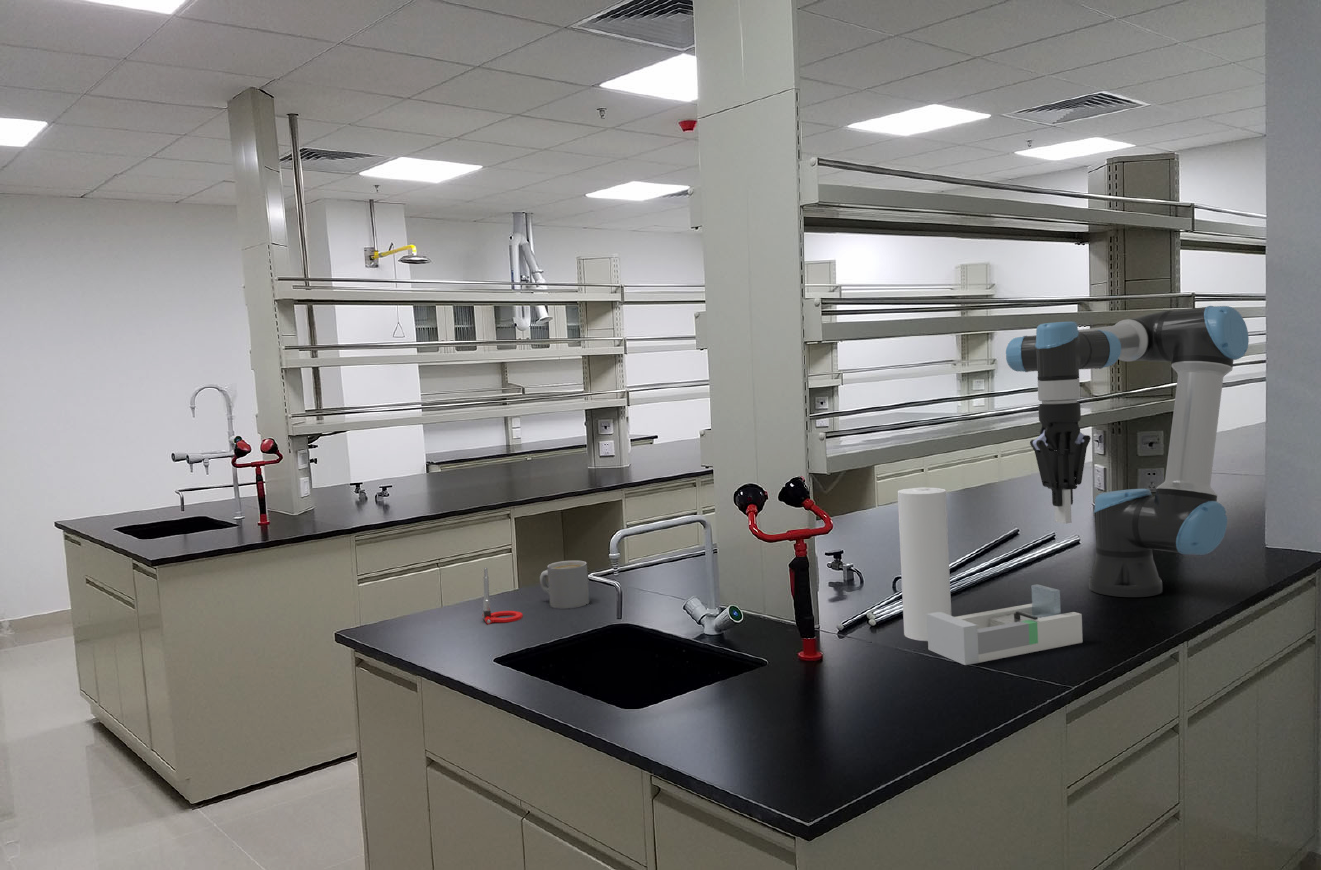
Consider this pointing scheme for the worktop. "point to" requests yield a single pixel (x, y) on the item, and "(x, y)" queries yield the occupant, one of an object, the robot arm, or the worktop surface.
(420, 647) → the worktop surface
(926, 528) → the cylinder container
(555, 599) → the coffee mug
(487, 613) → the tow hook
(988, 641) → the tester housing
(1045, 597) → the plunger
